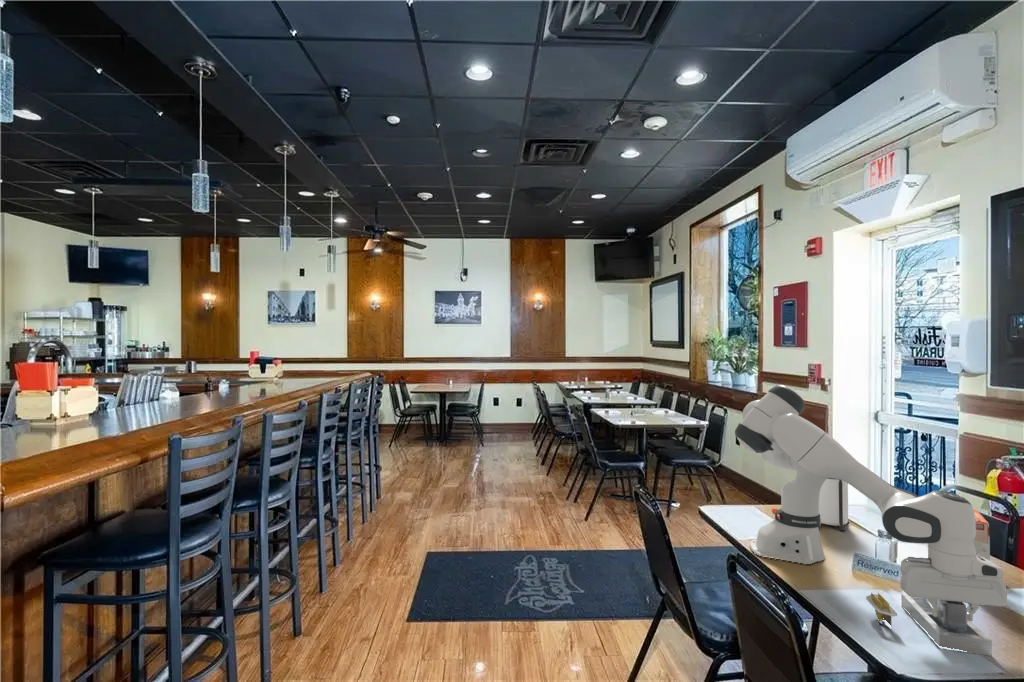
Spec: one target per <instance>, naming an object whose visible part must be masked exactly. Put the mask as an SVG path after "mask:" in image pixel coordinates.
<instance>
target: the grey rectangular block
mask: <svg viewBox="0 0 1024 682" xmlns="http://www.w3.org/2000/svg"><path fill="white" fill-rule="evenodd" d="M937 607H938V608H939V609H940V610H942V617H937V620H938V621H939V624H940V625H941V626H942V627H943V628H944V629H945V630H946V631H947V632H952V633H960V634H966V629H967V605H966V604H965V603H964V602H955V601H946V600H937Z"/></svg>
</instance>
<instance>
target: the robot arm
mask: <svg viewBox="0 0 1024 682" xmlns="http://www.w3.org/2000/svg"><path fill="white" fill-rule="evenodd" d="M805 407H806V405H805V400H804V399H803V398H802V396H801V395H800V393H799V392H797V391H796V389H793V388H792V387H788V386H787V385H783V384H778V385H774V386H773V387H771V388H770V389H769V390H768V392H767V393H766V394H765V395H764V396H761V398H760V399H755V400H752V401H750V402H748V404H746V405H745V407H744V408H743V410H742V420H741V422H739V423H738V425H737V427H736V428H735V430H734V435H735V437H736V438H737V440H738V442H739V444H740V445H741V446H742V447H743V448H745V449H746V450H748V451H751V452H754V453H756V454H761V458H762V459H763V460H764V461H765V462H766V463H769V464H771V465H773V466H776V467H778V468H783V469H786V470H792V471H796V475H795V479H792V480H789V481H787V482H786V483H784V484H783V485H782V487H781V489H780V492H781V493H780V494H781V495H780V497H781V498H780V499H781V500H780V502H781V503H780V504H781V505H780V506H781V507H780V508H779V509H778V508H777V507H775V506H774V507H772V508H771V513H772V514H773V515H774V519H772V520H771V521H769V522H767V524H766V523H765V525H763V526H761V527H760V528H759V529H758V532H757V535H756V539H755V538H754V539H752V540H750V542H749V548H750V547H751V548H750V550H751V551H753V552H754V555H756V554H757V555H759V556H767V557H773V558H778V559H783V560H787V561H786V562H788V561H792V562H791V563H794V562H798V563H797V564H800V563H803V564H802V565H806V564H811V565H812V563H813V562H814V563H817V561H818V562H822V561H823V560H825V558H826V556H825V553H824V549H823V546H822V545H823V544H822V540H821V533H820V532H821V528H822V527H821V526H822V523H821V518H820V514H819V493H820V489H821V486H822V485H823V483H824V481H825V480H826V479H827V478H835V479H840V480H842V481H845V482H847V483H848V485H850V486H851V487H853V488H854V489H855V490H857V491H858V492H859V493H861V494H862V495H863V496H865V497H866V498H868V500H871V502H873V503H874V504H875V505H876V506H877V508H878V509H879V511H880V513H881V521H882V525H883V528H884V530H885V531H886V532H887V534H889V536H891V537H892V538H894V539H895V540H897V541H899V542H902V543H907V544H909V543H910V544H927V557H915V556H908V557H906V558H904V559H902V560H901V562H900V571H901V576H900V589H901V590H902V591H903V592H904V594H907V595H908V596H910V597H919V598H926V600H927V601H928V603H929V604H930V606H931V608H932V615H933V616H934V617H942V610H940V609H939V608H938V607H936V606H935V604H934V603H937V600H946V601H955V602H963V603H964V604H965V603H966V604H968V605H967V606H966V608H967V621H971V622H973V621H974V615H975V614H976V612H977V611H978V610H979V609H980V607H979V606H980V605H982V606H983V605H985V606H993V607H1000V608H1001V607H1004V606H1006V605H1007V603H1008V592H1007V585H1006V582H1005V580H1004V579H1003V578H1002V577H1003V574H1004V573H1003V572H1004V571H1003V569H1002V568H1001V567H1000V566H998V565H997V564H996V563H994V562H993V561H991V559H990V560H988V559H986V558H984V557H981V556H978V555H976V550H975V547H974V539H975V536H976V523H975V514H974V509H975V508H974V507H973V505H972V504H971V502H970V501H969V500H968V499H966V497H963V496H961V495H959V494H956V493H954V492H950V491H945V490H944V491H942V490H939V489H938V490H932V491H931V492H928V493H926V494H924V495H920V496H919V495H917V494H915V493H914V492H913V491H912V492H911V491H909V490H906V489H903V488H900V487H896V486H895V485H893V484H890V483H889V482H887V481H886V480H884V479H883V478H881V477H880V476H879V475H877V474H876V473H874V472H873V471H872V470H870V469H868V467H866V466H865V465H863V464H862V463H860V462H859V461H858V460H857V459H856V458H855V457H853V455H852V454H851V453H850V452H848V451H847V449H845V447H844V446H843V445H842V444H840V442H838V441H837V440H836V439H835V438H833V437H832V436H831V435H830V434H829V433H827V432H825V431H824V430H823V429H821V428H820V427H818V426H817V425H815V424H814V423H813V422H811V421H810V420H808V419H806V418H804V417H802V416H800V415H801V414H802V413H803V412H804V409H805ZM753 542H755V543H753ZM753 552H752V553H753ZM757 555H756V556H757ZM759 556H758V557H759ZM814 563H813V564H814Z"/></svg>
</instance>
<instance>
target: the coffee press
mask: <svg viewBox="0 0 1024 682" xmlns="http://www.w3.org/2000/svg"><path fill="white" fill-rule="evenodd" d="M819 514H820V518H821V524H824V525H828V526H834V527H836V528H837V529H838V530H839V532H845V531H846V529H845V525H847V526H848V525H849V524H850V521H849V484H848V483H847V482H845V481H842V480H840V479H835V478H827V479H826V480H825V481H824V483H823V485H822V486H821V489H820V493H819Z"/></svg>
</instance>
